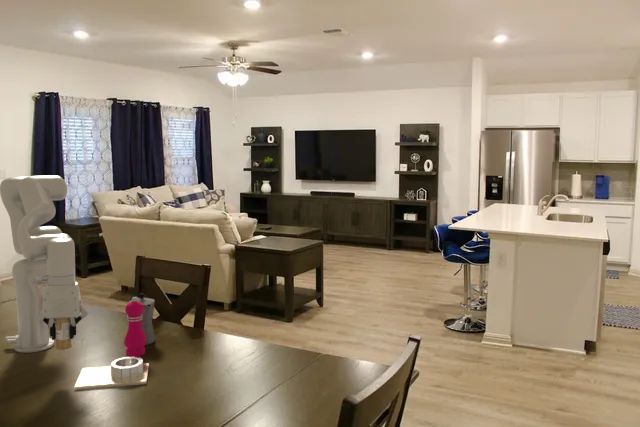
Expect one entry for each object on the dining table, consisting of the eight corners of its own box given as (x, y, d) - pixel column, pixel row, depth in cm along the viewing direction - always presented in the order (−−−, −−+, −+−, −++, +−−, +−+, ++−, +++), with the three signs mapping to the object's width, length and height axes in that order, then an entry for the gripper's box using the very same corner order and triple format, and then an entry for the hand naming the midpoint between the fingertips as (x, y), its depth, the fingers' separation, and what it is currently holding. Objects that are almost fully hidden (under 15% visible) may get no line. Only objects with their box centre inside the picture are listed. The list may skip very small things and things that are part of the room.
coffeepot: (163, 343, 198) (162, 294, 196) (138, 349, 191) (137, 299, 189) (143, 332, 209) (142, 286, 207) (119, 337, 202) (118, 290, 200)
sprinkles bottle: (52, 347, 165) (51, 305, 163) (67, 343, 169) (66, 302, 167) (59, 352, 162) (58, 308, 161) (74, 347, 166) (73, 305, 164)
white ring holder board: (74, 390, 158) (73, 375, 158) (82, 371, 172) (82, 357, 171) (146, 383, 163) (146, 369, 163) (148, 365, 177) (148, 352, 176)
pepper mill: (139, 358, 183) (138, 300, 181) (120, 356, 184) (118, 299, 182) (150, 350, 190) (149, 295, 188) (131, 348, 191) (130, 293, 189)
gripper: (27, 283, 157) (29, 344, 160) (89, 282, 161) (91, 340, 164) (33, 277, 164) (36, 334, 167) (93, 275, 168) (94, 332, 171)
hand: (63, 337), depth 165 cm, fingers closed on sprinkles bottle, 4 cm apart
